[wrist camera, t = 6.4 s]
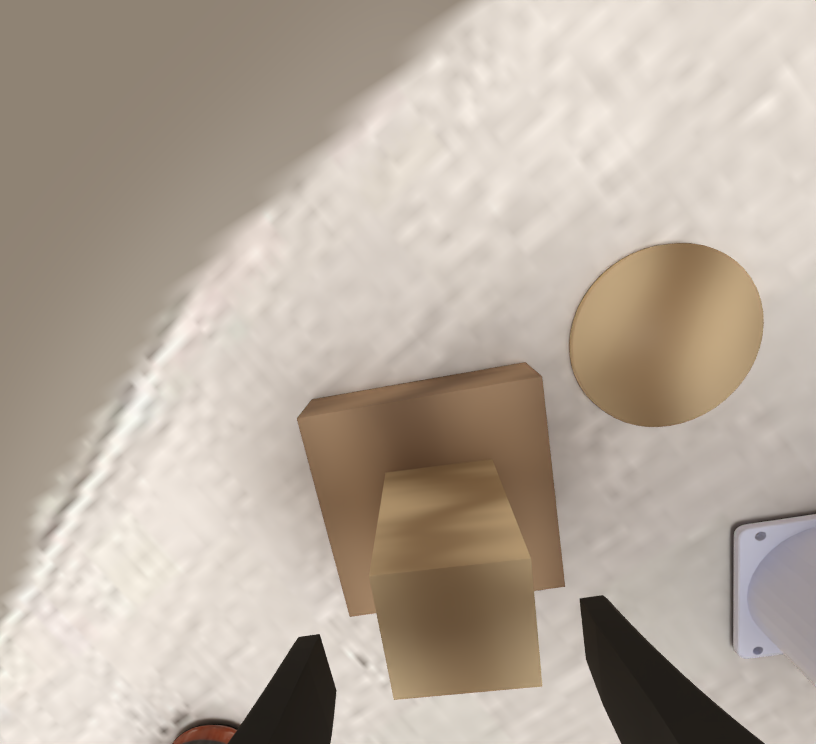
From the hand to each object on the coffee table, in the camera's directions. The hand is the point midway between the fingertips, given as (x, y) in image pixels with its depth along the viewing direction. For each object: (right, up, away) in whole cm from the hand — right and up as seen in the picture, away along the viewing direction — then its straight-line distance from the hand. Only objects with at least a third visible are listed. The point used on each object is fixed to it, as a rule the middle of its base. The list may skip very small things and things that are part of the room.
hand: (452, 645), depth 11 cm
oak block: (0, +1, +7) cm, 7 cm away
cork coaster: (+10, +9, +7) cm, 15 cm away
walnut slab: (0, +2, +9) cm, 10 cm away
